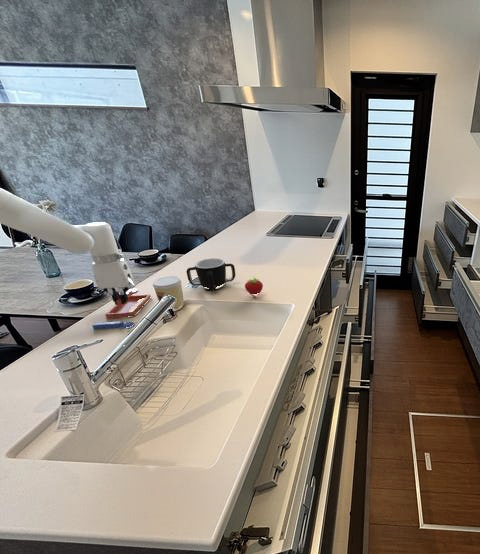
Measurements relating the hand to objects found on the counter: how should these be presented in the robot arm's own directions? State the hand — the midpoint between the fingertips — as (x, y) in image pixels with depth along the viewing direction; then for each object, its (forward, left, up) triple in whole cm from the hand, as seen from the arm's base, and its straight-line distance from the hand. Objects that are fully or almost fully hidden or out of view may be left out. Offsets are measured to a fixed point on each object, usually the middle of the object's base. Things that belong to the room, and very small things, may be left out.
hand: (121, 302), depth 115 cm
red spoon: (0, +5, 0) cm, 5 cm away
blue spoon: (+1, -10, -5) cm, 11 cm away
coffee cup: (+16, +2, -5) cm, 17 cm away
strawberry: (+47, +8, -5) cm, 48 cm away
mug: (+27, +21, -5) cm, 35 cm away
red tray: (0, +4, -5) cm, 7 cm away
